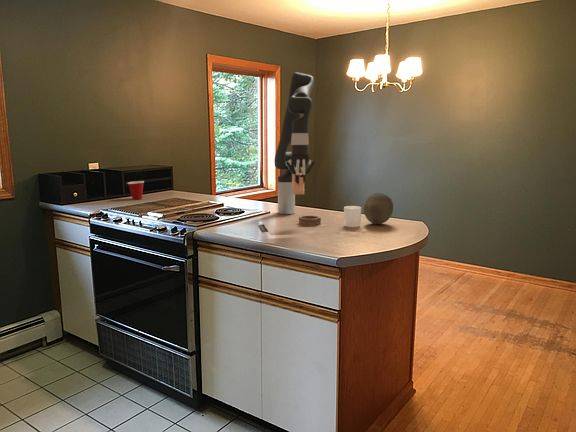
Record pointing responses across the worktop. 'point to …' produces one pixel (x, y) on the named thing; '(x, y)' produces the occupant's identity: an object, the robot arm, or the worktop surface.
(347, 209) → the white cup
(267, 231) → the charcoal mat
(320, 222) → the walnut holder
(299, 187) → the peach ice lolly
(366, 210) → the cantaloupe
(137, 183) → the plastic cup
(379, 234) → the worktop surface
